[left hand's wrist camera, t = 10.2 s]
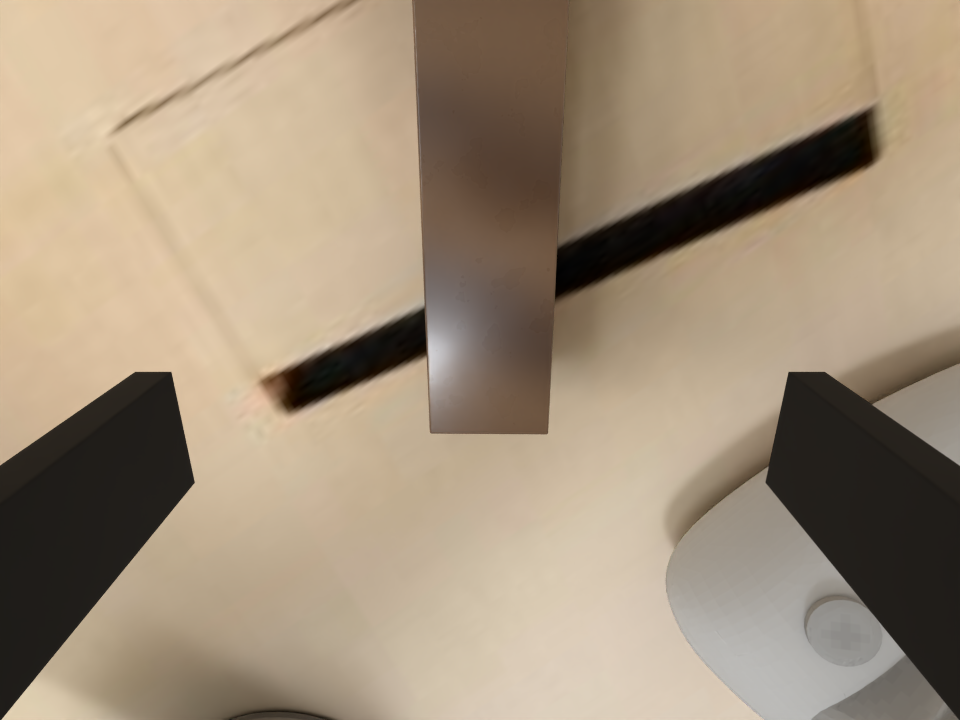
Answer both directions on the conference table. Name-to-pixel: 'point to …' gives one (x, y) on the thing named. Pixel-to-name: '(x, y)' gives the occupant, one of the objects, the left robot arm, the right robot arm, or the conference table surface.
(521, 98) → the post
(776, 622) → the projector
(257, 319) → the conference table surface
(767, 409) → the conference table surface
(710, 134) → the conference table surface
